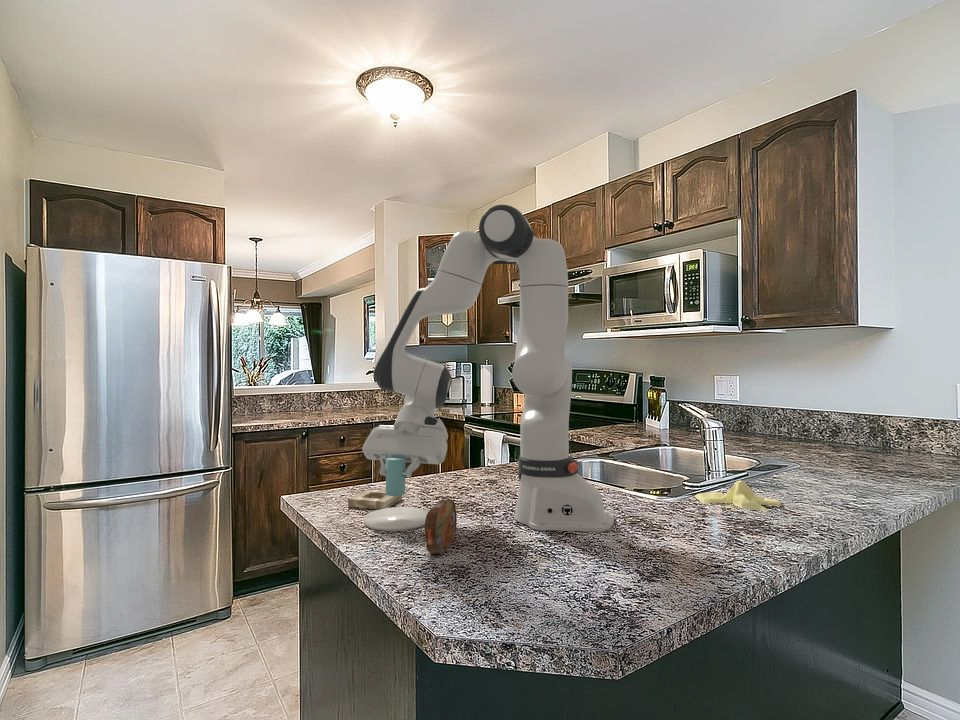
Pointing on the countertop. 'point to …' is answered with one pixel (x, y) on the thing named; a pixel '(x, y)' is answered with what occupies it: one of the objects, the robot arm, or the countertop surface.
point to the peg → (395, 476)
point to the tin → (440, 526)
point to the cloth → (738, 498)
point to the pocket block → (373, 500)
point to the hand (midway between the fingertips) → (394, 475)
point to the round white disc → (395, 519)
